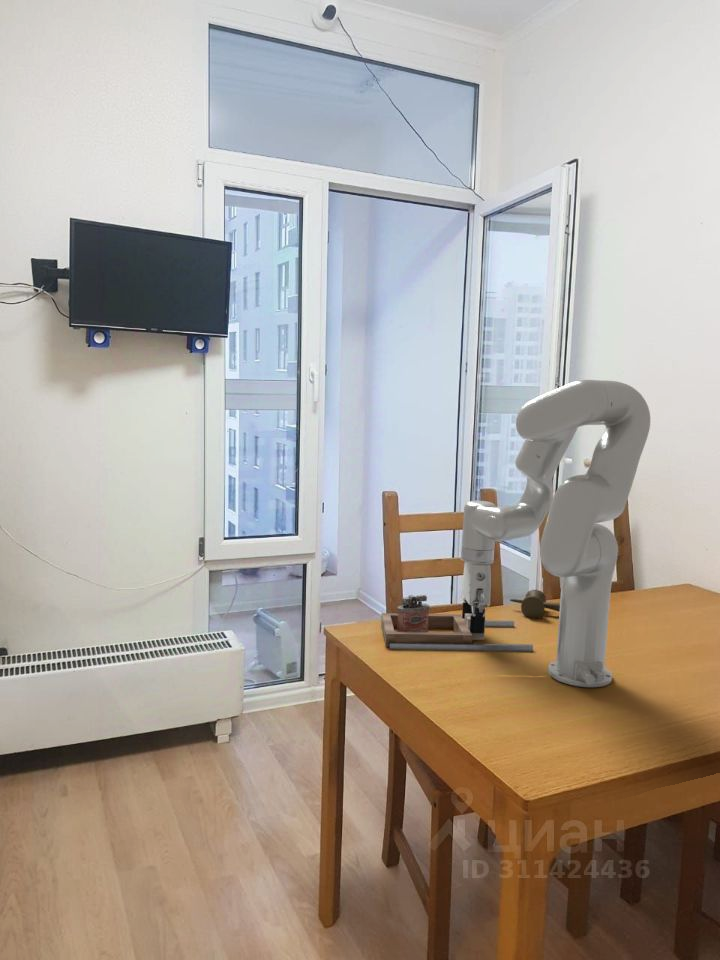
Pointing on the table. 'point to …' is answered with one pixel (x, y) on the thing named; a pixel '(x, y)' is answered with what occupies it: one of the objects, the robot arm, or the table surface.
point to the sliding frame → (434, 621)
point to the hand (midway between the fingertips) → (472, 625)
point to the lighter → (413, 614)
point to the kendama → (535, 604)
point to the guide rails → (467, 646)
